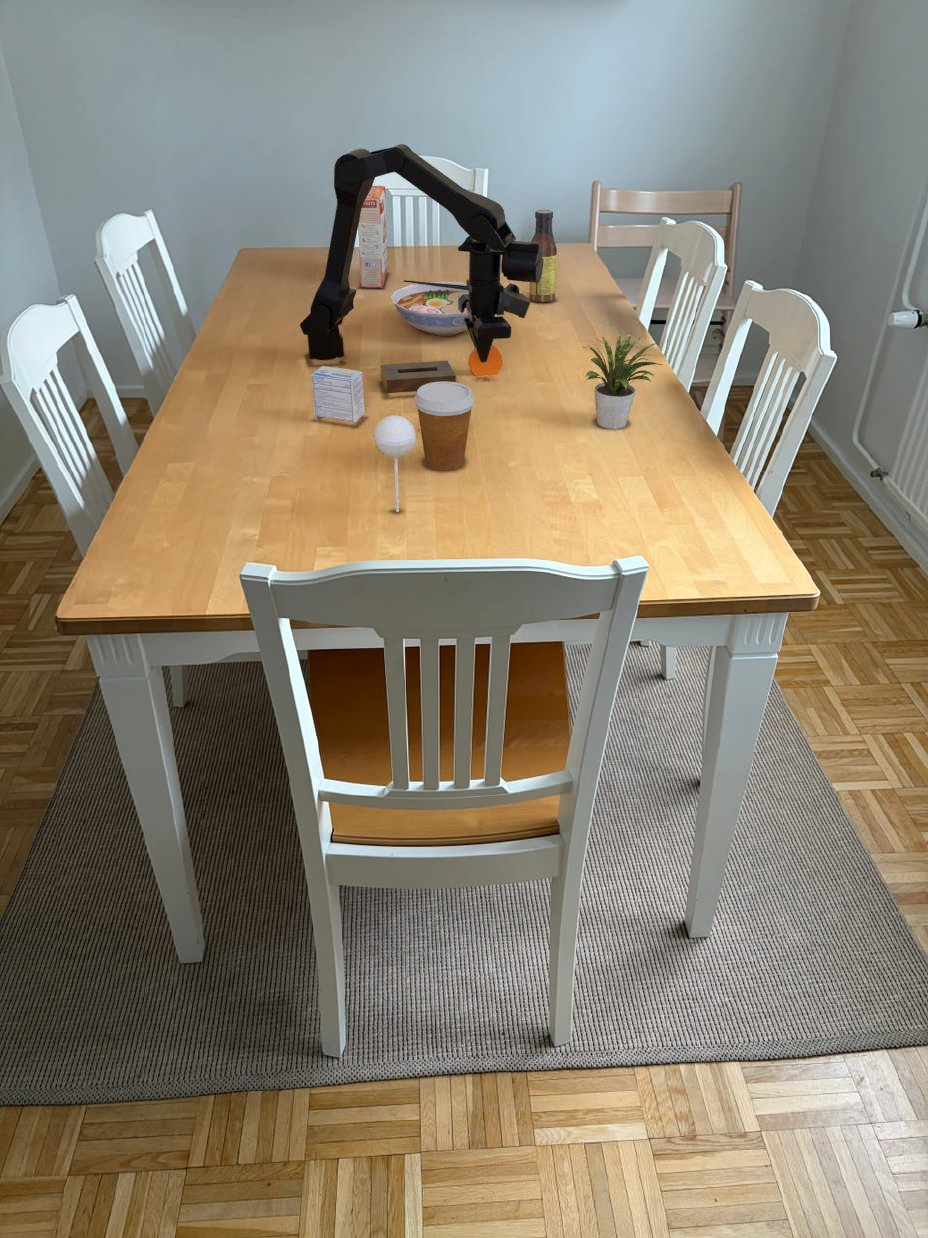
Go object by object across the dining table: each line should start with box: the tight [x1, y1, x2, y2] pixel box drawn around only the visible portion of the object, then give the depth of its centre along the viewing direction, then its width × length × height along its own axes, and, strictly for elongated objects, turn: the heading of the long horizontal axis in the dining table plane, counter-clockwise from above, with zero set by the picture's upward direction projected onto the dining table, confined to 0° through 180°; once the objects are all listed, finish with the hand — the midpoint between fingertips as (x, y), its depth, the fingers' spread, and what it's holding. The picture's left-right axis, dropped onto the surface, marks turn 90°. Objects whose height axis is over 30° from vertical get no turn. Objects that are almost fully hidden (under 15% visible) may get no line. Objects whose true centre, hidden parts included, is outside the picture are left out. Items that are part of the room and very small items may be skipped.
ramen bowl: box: [390, 279, 469, 337], centre depth 205 cm, size 25×23×8 cm
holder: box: [380, 360, 457, 394], centre depth 180 cm, size 13×8×4 cm, turn 102°
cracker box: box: [357, 185, 388, 289], centre depth 231 cm, size 14×6×21 cm, turn 179°
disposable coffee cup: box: [413, 381, 476, 471], centre depth 152 cm, size 10×10×12 cm
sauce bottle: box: [528, 208, 558, 304], centre depth 221 cm, size 7×6×20 cm
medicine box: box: [310, 365, 366, 423], centre depth 166 cm, size 8×4×9 cm, turn 71°
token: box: [468, 344, 504, 377], centre depth 183 cm, size 6×1×6 cm, turn 102°
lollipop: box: [373, 414, 417, 513], centre depth 137 cm, size 6×6×15 cm
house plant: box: [583, 329, 664, 430], centre depth 163 cm, size 14×14×16 cm
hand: (482, 360), depth 182 cm, fingers closed on token, 1 cm apart
